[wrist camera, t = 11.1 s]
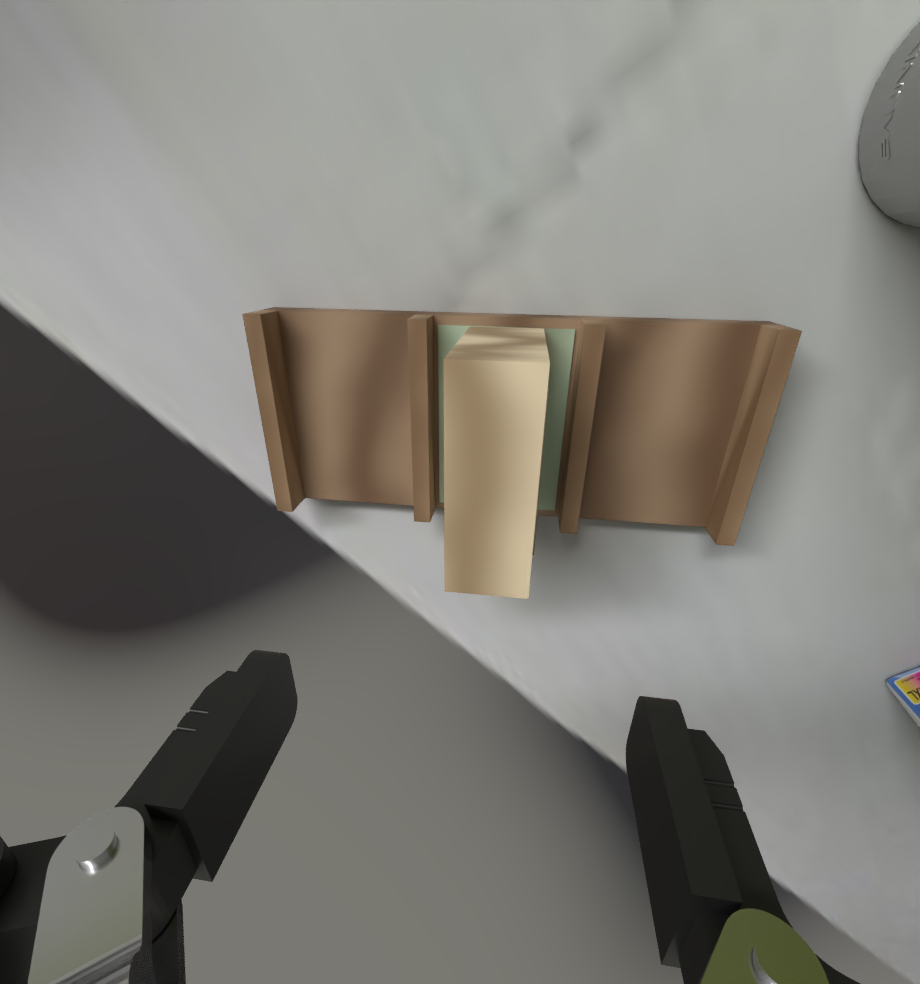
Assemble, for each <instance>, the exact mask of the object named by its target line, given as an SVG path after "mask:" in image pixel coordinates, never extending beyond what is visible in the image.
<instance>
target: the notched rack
mask: <svg viewBox="0 0 920 984" xmlns="http://www.w3.org/2000/svg"><path fill="white" fill-rule="evenodd" d="M243 320H244V325H245V331H246V336H247V342H248V348H249V353H250V359H251V364H252V370H253V376H254V381H255V387H256V392H257V398H258V404H259V409H260V415H261V420H262V426H263V432H264V437H265V443H266V448H267V454H268V460H269V465H270V471H271V476H272V482H273V488H274V493H275V499H276V504H277V510H278V511H288V512H293V511H294V509H295V508H296V507H297V506H298V505H299V504H300V503H301V502H302V501H303V500H304V499H305V498H315V499H329V500H343V501H356V502H370V503H384V504H397V505H411V506H414V521H418V522H430V521H431V518H432V515H433V513H434V510H435V507H438V508H444V358H445V357H446V355H447V354H448V353H449V352H450V350H451V349H452V348H453V347H454V345H455V344H456V343H457V342H458V340H459V339H460V338H461V337H462V336H463V334H464V333H465V332H466V331H467V329H468V328H469V327H470V326H471V327H505V328H540V329H544V332H545V338H546V343H547V349H548V354H549V360H550V369H549V380H548V389H549V398H548V408H547V419H546V430H545V440H544V451H543V462H542V472H541V483H540V493H539V504H538V515H547V516H558V518H559V528H560V532H561V533H574V534H577V529H578V522H579V518H588V519H601V520H615V521H629V522H642V523H656V524H670V525H683V526H697V527H705V528H706V529H707V531H708V533H709V534H710V536H711V537H712V539H713V540H714V542H715V544H717V545H730V546H734V544H735V541H736V538H737V535H738V532H739V528H740V525H741V522H742V519H743V516H744V513H745V509H746V506H747V503H748V500H749V497H750V494H751V490H752V487H753V484H754V481H755V478H756V475H757V471H758V468H759V465H760V462H761V459H762V456H763V453H764V449H765V446H766V443H767V440H768V437H769V434H770V430H771V427H772V424H773V421H774V418H775V415H776V411H777V408H778V405H779V402H780V399H781V396H782V392H783V389H784V386H785V383H786V380H787V377H788V373H789V370H790V367H791V364H792V361H793V358H794V354H795V351H796V348H797V345H798V342H799V339H800V335H801V332H802V331H800V330H797V329H793V328H790V327H787V326H783V325H780V324H776V323H773V322H769V321H737V320H701V319H666V318H631V317H595V316H560V315H525V314H489V313H454V312H419V311H384V310H348V309H313V308H278V307H273V308H268V309H264V310H259V311H254V312H250V313H245V314H243Z"/></svg>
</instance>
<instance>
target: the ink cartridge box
mask: <svg viewBox="0 0 920 984" xmlns="http://www.w3.org/2000/svg"><path fill="white" fill-rule="evenodd" d="M886 684H887V686H888V687H889V689H890V690H891V691H892V693H893V694H894V695H895V697H896V698H897V699H898V700H899V702H900V703H901V704H902V706H903V707H904V708H905V709H906V711H907V712H908V713H909V715H910V716H911V717H912V719H913V720H914V721H915V722H916V724H917V725H918V726H919V727H920V667H918V668H915V669H912V670H910V671H907V672H904V673H902V674H899V675H896V676H893V677H891V678H889V679H888V680H887V681H886Z"/></svg>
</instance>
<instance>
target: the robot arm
mask: <svg viewBox="0 0 920 984" xmlns="http://www.w3.org/2000/svg"><path fill="white" fill-rule="evenodd" d="M859 165H860V170H861V175H862V179H863V183H864V185H865V187H866V189H867V191H868V193H869V195H870V197H871V199H872V201H873V202H874V203H875V204H876V205H877V206H878V207H879V208H880V209H881V210H882V211H883V212H884V213H885V214H886V215H888V216H890V217H892V218H893V219H895V220H897V221H899V222H900V223H902V224H906V225H911V226H915V227H919V228H920V23H919V24H918V25H917V26H916V27H915V28H914V29H913V30H912V31H911V32H910V34H909V35H908V36H907V38H906V39H905V40H904V41H903V43H902V44H901V45H900V46H899V48H898V49H897V50H896V51H895V53H894V54H893V55H892V57H891V58H890V60H889V62H888V64H887V65H886V67H885V69H884V70H883V72H882V74H881V75H880V77H879V79H878V81H877V82H876V84H875V87H874V89H873V92H872V94H871V97H870V99H869V102H868V104H867V107H866V109H865V113H864V118H863V122H862V127H861V131H860V136H859ZM296 710H297V693H296V689H295V683H294V679H293V674H292V669H291V664H290V659H289V656H288V655H287V654H285V653H278V652H270V651H261V650H255V651H252V652H251V653H250V654H249V655H248V656H247V658H246V659H245V661H244V662H243V663H242V665H241V667H240V668H239V669H238V671H237V672H233V671H226V672H225V673H224V674H222V676H220V677H219V678H217V679H216V680H215V681H213V682H212V683H211V684H210V685H208V686H207V687H206V688H205V689H204V690H203V692H202V693H201V694H200V696H199V697H198V699H197V700H196V701H195V703H194V704H193V705H192V706H191V708H190V712H189V713H186V715H185V716H184V717H183V718H182V720H181V721H180V723H179V724H178V725H177V729H176V730H173V732H172V733H171V734H170V736H169V737H168V738H167V740H166V741H165V743H164V744H163V745H162V746H161V748H160V749H159V750H158V752H157V753H156V754H155V756H154V757H153V758H152V760H151V761H150V762H149V764H148V765H147V766H146V768H145V769H144V770H143V772H142V773H141V775H140V776H139V777H138V778H137V780H136V781H135V782H134V784H133V785H132V787H131V788H130V789H129V790H128V792H127V793H126V795H125V796H124V797H123V798H122V799H121V800H120V802H119V803H118V804H117V805H116V806H115V807H114V808H110V809H107V810H104V811H101V812H99V813H97V814H95V815H93V816H91V817H89V818H88V819H86V820H85V821H83V822H82V823H81V824H79V825H78V826H77V827H75V828H74V829H73V830H72V831H71V832H70V833H69V834H68V835H66V836H62V837H58V838H53V839H48V840H43V841H38V842H33V843H27V844H22V845H17V846H12V847H8V846H7V845H6V843H5V842H4V841H3V839H2V838H1V837H0V984H186V974H185V951H184V927H183V905H182V897H183V895H184V893H185V891H186V889H187V887H188V886H189V884H190V882H191V880H192V878H194V879H199V880H205V881H211V882H212V881H213V879H214V877H215V875H216V874H217V871H218V869H219V867H220V866H221V864H222V861H223V860H224V858H225V856H226V854H227V852H228V850H229V847H230V846H231V844H232V842H233V840H234V838H235V836H236V834H237V832H238V830H239V828H240V826H241V824H242V822H243V820H244V818H245V817H246V814H247V812H248V811H249V809H250V807H251V805H252V803H253V801H254V799H255V797H256V795H257V793H258V791H259V789H260V787H261V785H262V783H263V781H264V779H265V777H266V775H267V773H268V771H269V769H270V767H271V765H272V764H273V762H274V760H275V757H276V756H277V754H278V751H279V750H280V748H281V746H282V744H283V742H284V740H285V738H286V736H287V734H288V732H289V730H290V728H291V726H292V724H293V721H294V718H295V715H296ZM626 767H627V774H628V780H629V786H630V791H631V797H632V803H633V808H634V814H635V819H636V825H637V830H638V836H639V842H640V848H641V853H642V859H643V864H644V870H645V876H646V881H647V887H648V893H649V898H650V904H651V909H652V915H653V921H654V926H655V932H656V937H657V943H658V949H659V954H660V960H661V964H662V965H667V966H673V967H678V968H681V972H682V976H683V981H684V984H860V983H858V982H856V981H854V980H852V979H850V978H848V977H847V976H845V975H843V974H841V973H840V972H838V971H836V970H835V969H833V968H832V967H831V966H829V965H828V964H826V963H825V962H824V961H823V960H822V959H820V958H819V957H818V956H817V955H816V954H815V953H814V952H813V951H812V949H811V948H810V947H809V945H808V944H807V943H806V941H805V940H804V939H803V938H802V937H801V936H800V935H799V934H798V933H797V932H796V931H795V930H794V929H793V927H792V926H791V925H790V923H789V922H788V920H787V918H786V916H785V915H784V913H783V911H782V908H781V906H780V904H779V901H778V899H777V896H776V893H775V891H774V889H773V886H772V883H771V880H770V877H769V875H768V872H767V869H766V867H765V864H764V861H763V859H762V856H761V853H760V851H759V848H758V845H757V843H756V840H755V837H754V835H753V832H752V829H751V827H750V824H749V821H748V819H747V816H746V813H745V812H743V808H742V807H743V805H742V803H741V800H740V797H739V795H738V792H737V789H736V788H734V781H733V779H732V776H731V773H730V771H729V768H728V765H727V763H726V760H725V757H724V755H723V754H722V753H721V751H720V750H719V749H718V747H717V746H716V745H715V744H714V742H713V741H712V740H711V738H710V737H709V736H708V735H707V733H706V732H705V731H702V730H694V729H687V726H686V723H685V720H684V716H683V713H682V710H681V707H680V705H679V703H678V702H677V701H676V700H670V699H662V698H653V697H645V696H639V698H638V700H637V703H636V707H635V711H634V715H633V719H632V723H631V727H630V731H629V735H628V739H627V744H626Z"/></svg>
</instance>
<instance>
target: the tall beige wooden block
mask: <svg viewBox="0 0 920 984" xmlns="http://www.w3.org/2000/svg"><path fill="white" fill-rule="evenodd" d="M549 369H550V360H549V354H548V349H547V343H546V338H545V332H544V329H540V328H505V327H471V326H470V327H469V328H468V329H467V331H466V332H465V333H464V334H463V336H462V337H461V338H460V339H459V340H458V342H457V343H456V344H455V345H454V347H453V348H452V349H451V350H450V352H449V353H448V354H447V355H446V357H445V358H444V558H445V591H447V592H458V593H469V594H480V595H491V596H502V597H513V598H524V599H528V596H529V585H530V574H531V564H532V555H534V547H535V536H536V525H537V515H538V504H539V493H540V483H541V472H542V462H543V451H544V440H545V430H546V419H547V408H548V398H549V389H548V380H549Z"/></svg>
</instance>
